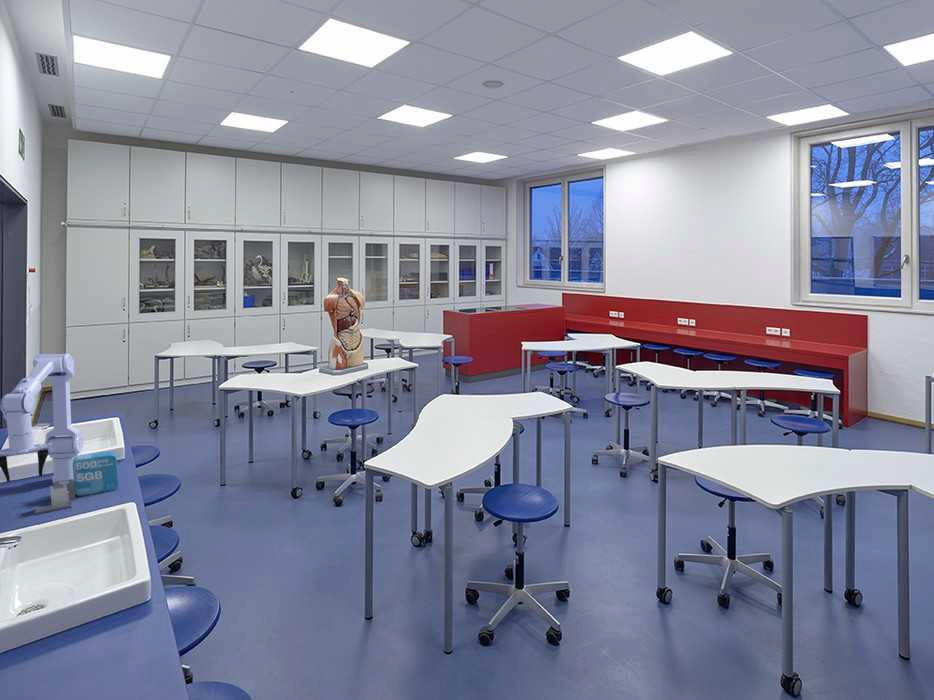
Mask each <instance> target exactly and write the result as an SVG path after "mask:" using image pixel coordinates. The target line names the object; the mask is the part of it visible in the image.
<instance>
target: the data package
mask: <svg viewBox="0 0 934 700" xmlns="http://www.w3.org/2000/svg"><path fill="white" fill-rule="evenodd" d="M72 466H73V477H74V486H75V496H80V497H81V496H88V494H89V495H93V494H94V493H95V494H101V493H105V492H106V491H107V492H112V491H115V490H117V489H118V487H119V473H118V461H117V454H116V453H115V452H114V451H106V452H99V453H98V452H97V453H90V454H83V455H78V456H77V457H75V458H74V459H73V464H72ZM100 492H101V493H100Z"/></svg>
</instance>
